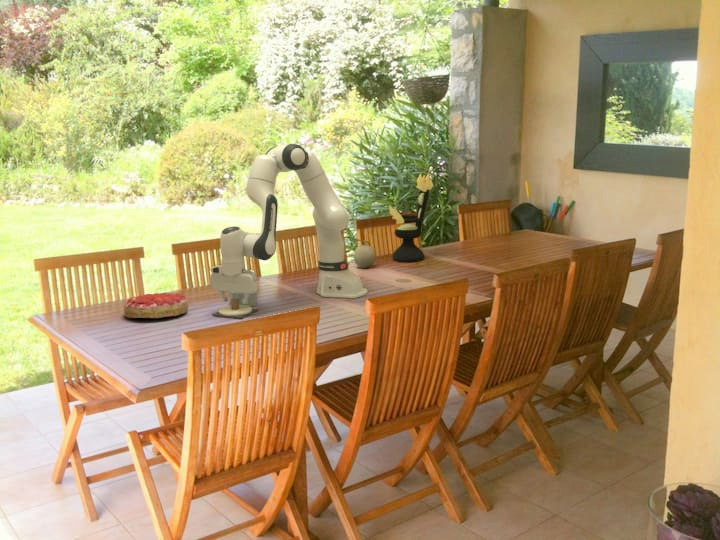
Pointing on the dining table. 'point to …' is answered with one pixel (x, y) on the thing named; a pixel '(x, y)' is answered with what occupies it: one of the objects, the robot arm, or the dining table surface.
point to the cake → (156, 306)
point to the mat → (233, 316)
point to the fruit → (364, 255)
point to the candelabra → (409, 231)
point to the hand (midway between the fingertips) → (234, 302)
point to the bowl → (251, 300)
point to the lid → (235, 309)
